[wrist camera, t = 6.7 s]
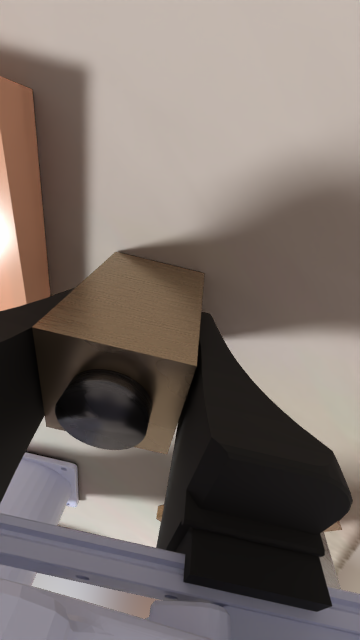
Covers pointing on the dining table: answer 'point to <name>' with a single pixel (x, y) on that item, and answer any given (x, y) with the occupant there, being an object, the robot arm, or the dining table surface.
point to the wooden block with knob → (121, 353)
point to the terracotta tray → (20, 202)
